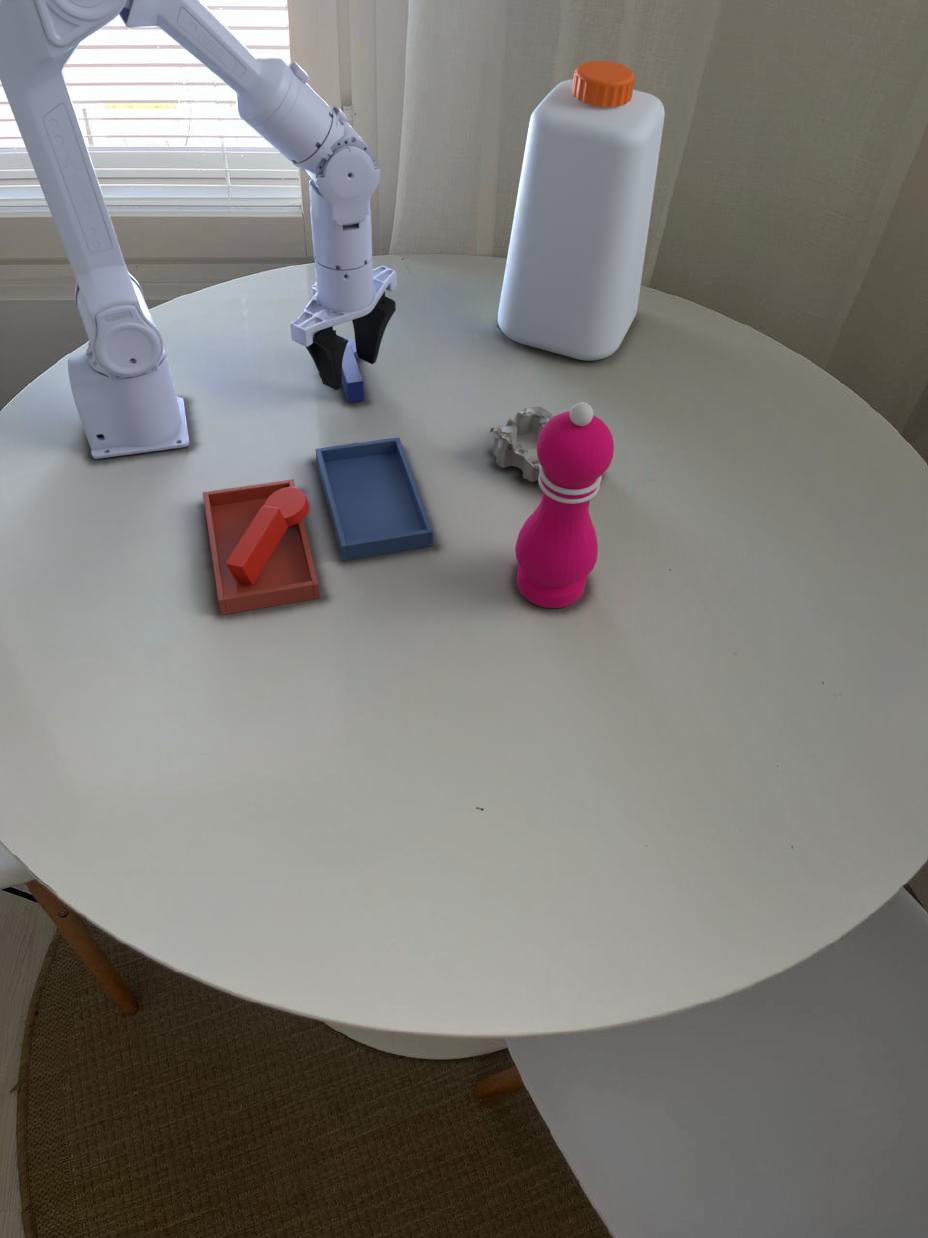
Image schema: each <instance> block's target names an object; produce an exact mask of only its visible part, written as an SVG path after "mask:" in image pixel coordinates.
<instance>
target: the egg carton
mask: <svg viewBox="0 0 928 1238" xmlns="http://www.w3.org/2000/svg"><path fill="white" fill-rule="evenodd" d="M554 416H555V415H554V414H552V413H551V412H550V411H549V410H547V409H546V408H544V407H541V406H532V407H526V408H523V409H522V410H521V411H518V412H517V413H516V415H515V416H514V417H512V418H509V419H508V421H507V422H506V424H505V426H504V427H502V428H501V425H497V426H496V427H491V428H490V430H489V433H493V434H494V440H493V448H492V454H493V455H494V457H496V461H495V462H496V464H497V466H499V467H500V468H502V469H503V468H507V467H516V468H519V469H520V470H521V472H522V479H524V480H527V481H529V482H532V483H534V482H536V481H538V477H539V474H540V466H541V464H540V462H539V459H538V457H537V441H538V438H539V435H540V432H541V430H542V429H543V427H544V426H545V424H546V423H547V422H548V421H549V420H550V419H551V418H553V417H554Z"/></svg>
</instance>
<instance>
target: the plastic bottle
mask: <svg viewBox="0 0 928 1238" xmlns="http://www.w3.org/2000/svg"><path fill="white" fill-rule="evenodd" d="M635 82H636V76H635V74H634V72H633V71H632V69H630V68H629V67H628V66H626V65H623V64H621V63H618V62H614V61H607V60H591V61H585V62H583V63H581V64H580V65H578V66H577V67H576V68H575V70H574V72H573V77H572V79H571V78H570V79H566V80H563V81H561V82H559V83H558V84H557V85H555V87H554V88H553V89H551V90H550V92H549V93H548V94H546V96H544V98H543V99H542V100H541V101H540V103H539V104H538V105H537V106H536V107H535V109H534V110H533V111H532V113H531V115H530V118H529V124H528V129H527V136H526V141H525V147H524V148H525V149H524V154H523V160H522V166H521V172H520V177H519V184H518V190H517V191H518V192H517V197H516V202H515V208H514V215H513V220H512V227H511V233H510V240H509V245H508V249H507V250H508V251H507V256H506V264H505V269H504V274H503V275H504V276H503V280H502V281H503V282H502V286H501V294H500V300H499V304H498V305H499V306H498V310H497V311H498V312H497V325H498V326H499V328H500V331H501V332H502V334H504V335H505V337H507V338H508V339H510V340H512V341H513V342H515V343H518V344H521V345H524V346H529V347H532V348H535V349H539V350H541V351H542V350H543V351H546V352H549V353H552V354H557V355H561V356H564V357H567V358H572V359H574V360H575V359H576V360H579V361H587V362H588V361H598V360H602V359H606V358H608V357H610V356H612V355H613V354H614V353H615V352H616V351H617V350H618V349H619V348H620V346H621V344H622V342H623V341H624V338H625V336H626V334H627V333H628V331H629V329H630V327H631V325H632V323H633V322H634V320H635V318H636V316H637V312H638V305H639V299H640V293H641V285H642V278H643V272H644V265H645V259H646V258H645V257H646V249H647V245H648V244H647V242H648V237H649V236H648V235H649V229H650V222H651V215H652V208H653V201H654V193H655V186H656V180H657V172H658V167H659V166H658V165H659V159H660V151H661V143H662V137H663V130H664V124H665V123H664V122H665V117H666V116H665V115H666V111H665V107H664V104H663V102H662V101H661V99H660V98H658V97H656V96H655V95H653V94H652V93H648V92H645V91H642V90H641V91H640V90H636V89H634V87H635Z"/></svg>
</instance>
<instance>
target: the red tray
mask: <svg viewBox="0 0 928 1238" xmlns="http://www.w3.org/2000/svg"><path fill="white" fill-rule="evenodd" d="M287 487H295V488H296V484H295V480H294V479H293V478H290V479H283V480H278V481H270V482H263V483H256V484H251V485H250V484H249V485H244V486H243V485H242V486H237V487H236V486H235V487H230V488H221V489H215V490H207V491H202V497H203V504H204V511H205V519H206V526H207V531H208V533H207V534H208V539H209V546H210V554H211V560H212V567H213V573H214V574H213V575H214V582H215V589H216V594H217V602H218V606H219V611H220V615H221V616H224V615H229V614H235V613H242V612H248V611H253V610H258V609H264V608H271V607H276V606H283V605H287V604H292V603H298V602H304V601H311V600H317V599H320V598H321V596H320V586H319V580H318V577H317V572H316V567H315V564H314V560H313V556H312V551H311V547H310V542H309V538H308V534H307V530H306V526H305V522H304V519H303V520H302V521H301V522H300V523H298V524H296V525H293V526H290V527H288V529H287V530H286V532H285V534H284V535H283V537H282V539H281V540H280V542H279V543H278V545H277V547H276V548H275V550H274V552H273V553H272V555H271V556H270V558H269V560H268V561H267V563H266V565H265V566H264V568H263V570H262V571H261V573H260V574H259V576H258V578H257V579H256V581H255V583H254V584H253V585H249V584H245V583H240V582H236V580H235V579H234V577H233V575H232V574H231V572H230V570H229V569H228V567H227V565H226V562H227V560H228V559H229V557H230V556H231V554H232V552H233V551H234V549H235V548H236V546H237V545H238V543H239V542H240V540H241V538H242V537H243V535H244V534H245V532H246V531H247V529H248V527H249V526H250V524H251V523H252V521H253V520H254V518H255V517H256V515H257V513H258V512H259V510H260V509H261V507H262V506H263V505H264V506H265V502H266V500H267V499H268V497H269V496H270V495H271V494H273V493H274V492H276V491H277V490H280V489H282V488H287Z"/></svg>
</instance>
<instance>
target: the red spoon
mask: <svg viewBox="0 0 928 1238" xmlns="http://www.w3.org/2000/svg"><path fill="white" fill-rule="evenodd" d="M310 509H311V505H310V502H309V500H308V498H307V496H306V493H305V492H304V491H303V490H302V489H301V488H298V487H296V486H295V487H287V488H282V489H280V490H277V491H276V492H274V493H273V494H271V495H270V496H269V497H268V499H267V500H266V502H265V506H264V505H263V506H262V507H261V509H260V510H259V512H258V513H257V515H256V517H255V518H254V520H253V521H252V523H251V524H250V526H249V527H248V529H247V531H246V532H245V534H244V535H243V537H242V538H241V540H240V542H239V543H238V545H237V546H236V548H235V549H234V551H233V552H232V554H231V556H230V557H229V559H228V560H227V562H226V565H227V567H228V569H229V570H230V572H231V574H232V575H233V577H234V579H235V580H236V582H240V583H245V584H249V585H253V584H254V583H255V581H256V579H257V578H258V576H259V574H260V573H261V571H262V570H263V568H264V566H265V565H266V563H267V561H268V560H269V558H270V556H271V555H272V553H273V552H274V550H275V548H276V547H277V545H278V543H279V542H280V540H281V539H282V537H283V535H284V534H285V532H286V530H287V529H288V527H290V526H293V525H296V524H298V523H300V522H301V521H302V520H303V521H304V520H305V519H306V517H307V516H308V515H309V512H310Z"/></svg>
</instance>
